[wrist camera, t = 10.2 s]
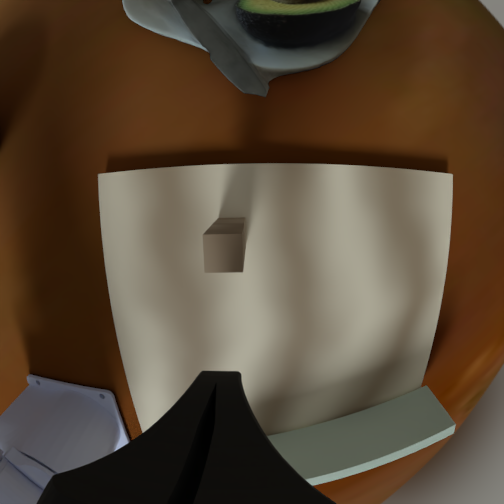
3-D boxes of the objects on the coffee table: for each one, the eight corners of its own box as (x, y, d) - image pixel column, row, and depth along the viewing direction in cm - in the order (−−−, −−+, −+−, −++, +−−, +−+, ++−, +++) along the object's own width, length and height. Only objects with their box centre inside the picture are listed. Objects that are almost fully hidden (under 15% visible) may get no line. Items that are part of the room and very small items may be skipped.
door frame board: (155, 455, 23) (139, 508, 16) (105, 174, 17) (44, 174, 11) (392, 445, 23) (415, 494, 16) (444, 174, 17) (509, 176, 11)
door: (232, 440, 21) (228, 492, 15) (426, 384, 20) (456, 424, 14) (241, 457, 21) (239, 506, 16) (425, 403, 20) (452, 443, 15)
